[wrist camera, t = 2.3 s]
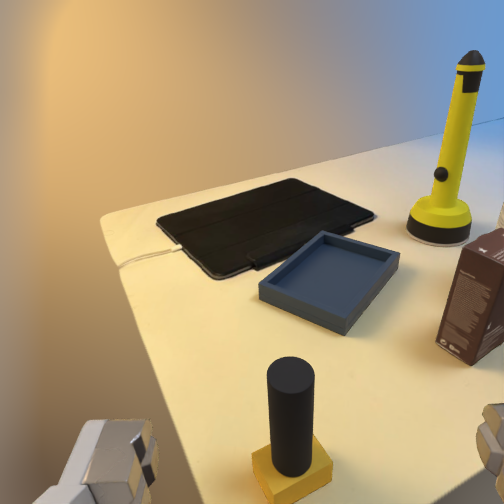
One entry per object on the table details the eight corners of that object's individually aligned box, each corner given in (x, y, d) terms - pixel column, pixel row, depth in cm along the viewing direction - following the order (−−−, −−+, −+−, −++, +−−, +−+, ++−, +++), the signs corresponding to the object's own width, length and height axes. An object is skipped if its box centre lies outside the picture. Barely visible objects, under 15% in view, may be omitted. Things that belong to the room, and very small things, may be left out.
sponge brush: (274, 513, 29) (268, 411, 23) (253, 471, 32) (242, 370, 26) (331, 481, 31) (340, 377, 25) (306, 443, 34) (308, 342, 28)
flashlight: (468, 44, 54) (418, 51, 51) (534, 48, 47) (481, 56, 44) (434, 213, 67) (393, 227, 64) (482, 236, 60) (439, 252, 57)
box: (474, 369, 39) (508, 266, 33) (433, 342, 42) (457, 244, 36) (509, 343, 42) (546, 242, 36) (468, 320, 45) (496, 224, 39)
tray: (344, 336, 44) (345, 318, 43) (259, 299, 50) (258, 283, 49) (397, 268, 54) (400, 252, 53) (321, 245, 61) (322, 230, 59)
